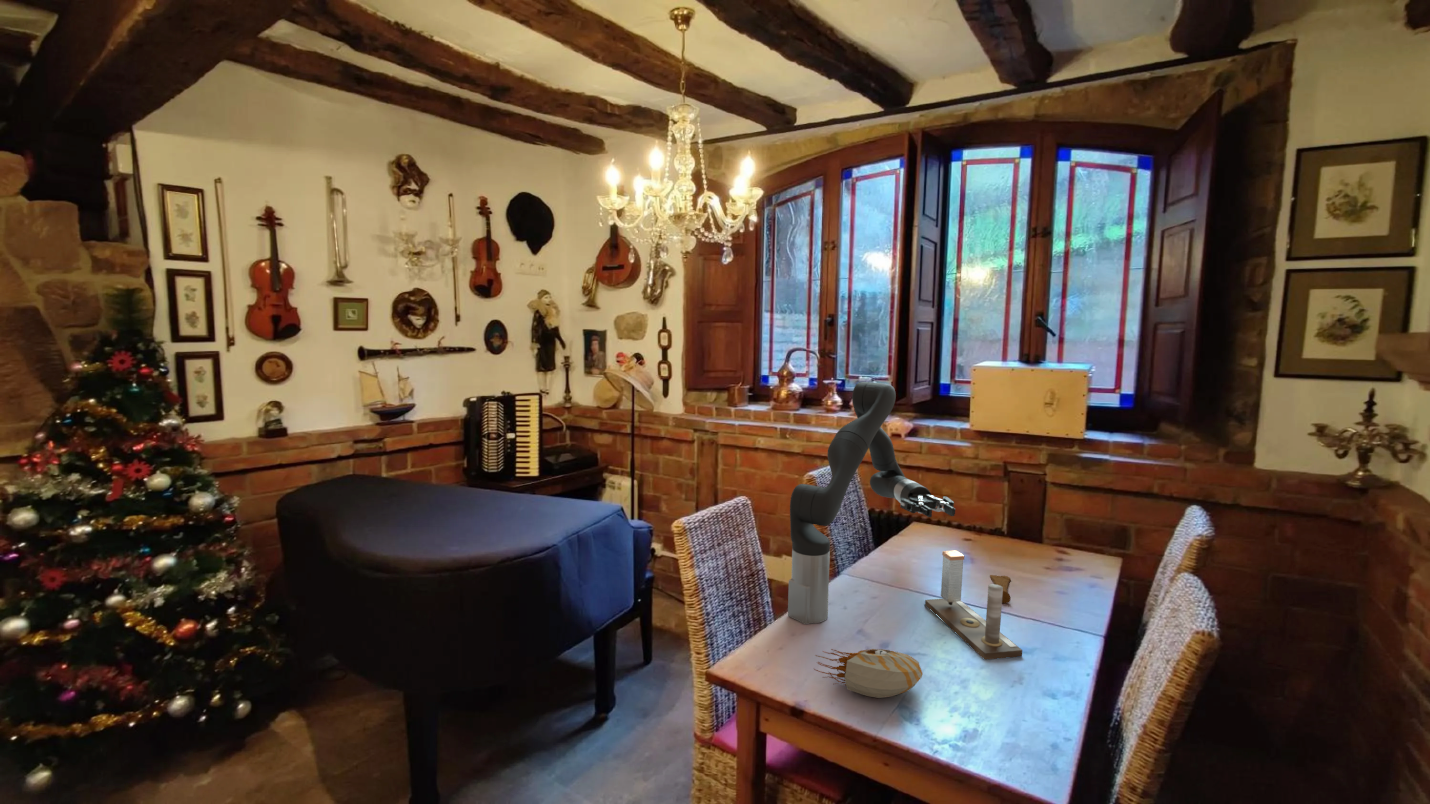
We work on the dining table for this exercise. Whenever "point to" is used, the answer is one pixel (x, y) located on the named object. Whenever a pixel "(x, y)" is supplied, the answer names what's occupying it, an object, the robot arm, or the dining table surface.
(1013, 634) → the dining table surface
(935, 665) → the dining table surface
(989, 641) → the wooden base plate
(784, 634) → the dining table surface
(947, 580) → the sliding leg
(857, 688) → the nautilus
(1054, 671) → the dining table surface
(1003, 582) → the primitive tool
